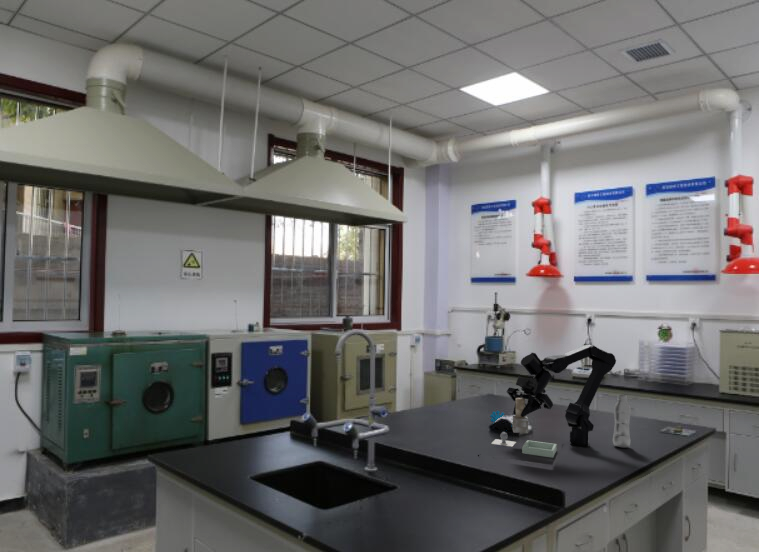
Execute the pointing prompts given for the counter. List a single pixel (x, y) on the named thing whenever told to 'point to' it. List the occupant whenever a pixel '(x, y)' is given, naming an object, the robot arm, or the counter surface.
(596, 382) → the robot arm
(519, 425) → the stamp
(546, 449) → the tray
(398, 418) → the counter surface
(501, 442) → the stud plate
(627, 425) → the plastic bottle
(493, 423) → the blue lobed toy
